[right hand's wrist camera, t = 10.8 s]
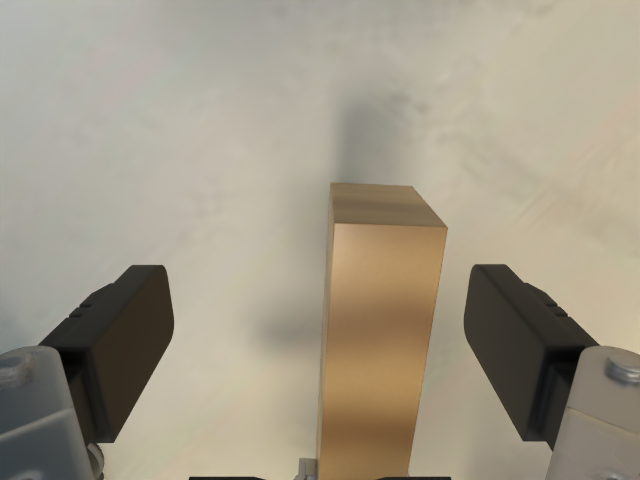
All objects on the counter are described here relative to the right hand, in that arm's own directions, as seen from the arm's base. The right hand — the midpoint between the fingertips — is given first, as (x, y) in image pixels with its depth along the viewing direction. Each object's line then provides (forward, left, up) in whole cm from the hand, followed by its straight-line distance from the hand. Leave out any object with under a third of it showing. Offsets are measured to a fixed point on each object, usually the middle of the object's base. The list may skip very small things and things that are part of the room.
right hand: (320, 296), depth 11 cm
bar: (-15, +1, -18) cm, 23 cm away
